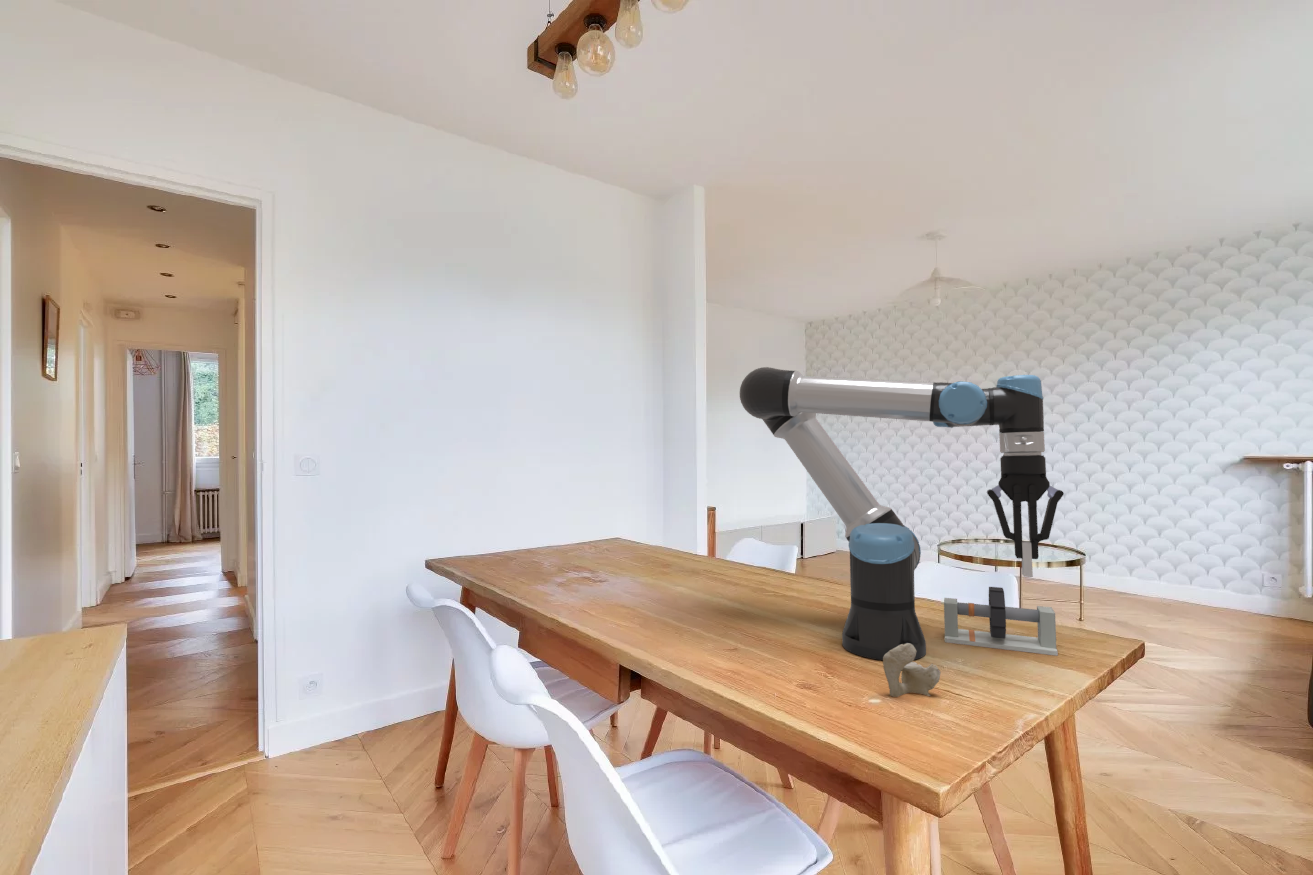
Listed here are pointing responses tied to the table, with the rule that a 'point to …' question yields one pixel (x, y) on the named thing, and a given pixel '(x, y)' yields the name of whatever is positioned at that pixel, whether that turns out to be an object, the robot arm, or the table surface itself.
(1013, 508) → the robot arm
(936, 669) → the bone
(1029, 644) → the pipe rig
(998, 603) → the o-ring
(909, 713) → the table surface
